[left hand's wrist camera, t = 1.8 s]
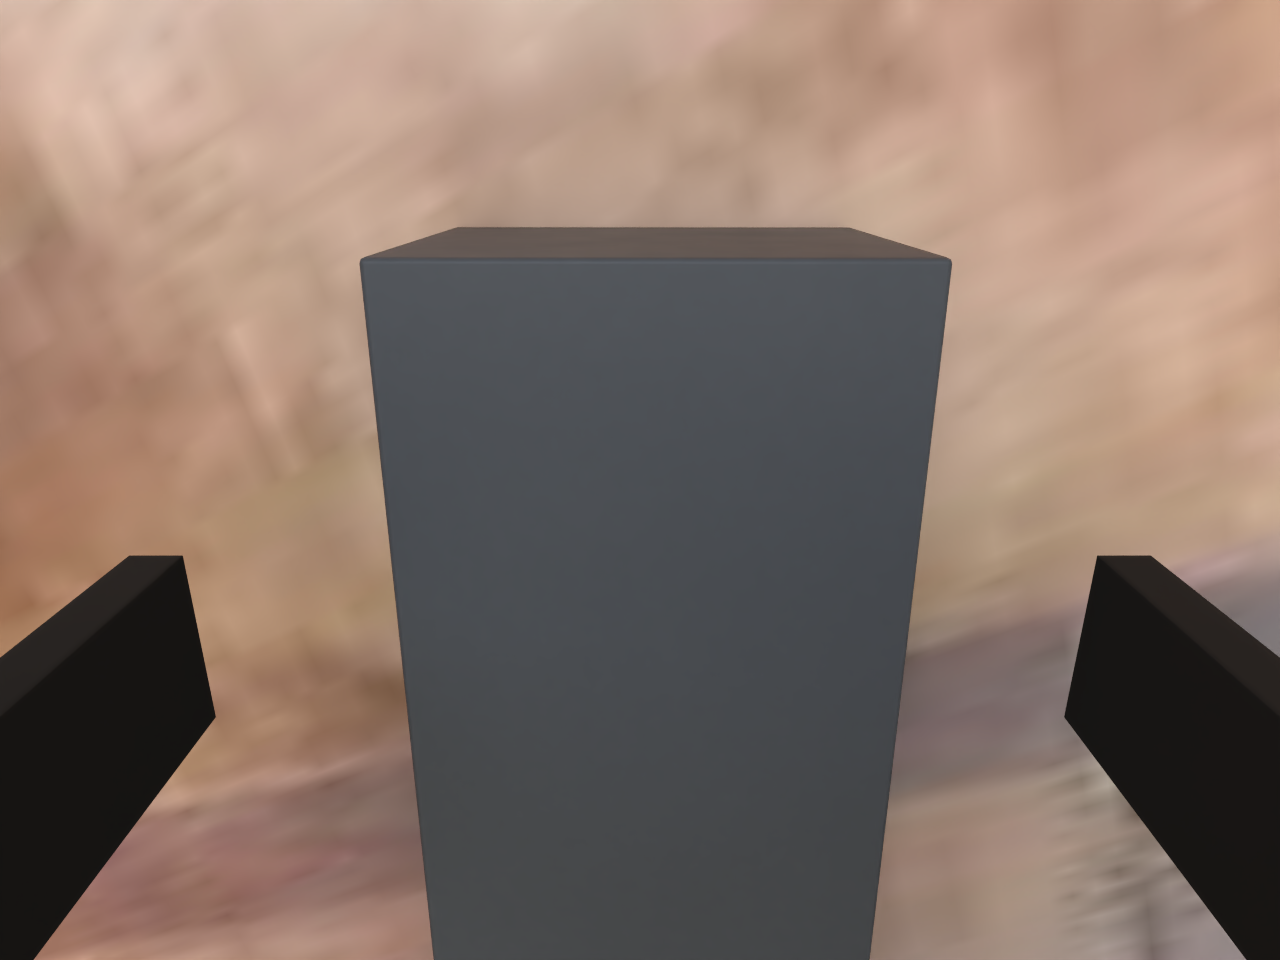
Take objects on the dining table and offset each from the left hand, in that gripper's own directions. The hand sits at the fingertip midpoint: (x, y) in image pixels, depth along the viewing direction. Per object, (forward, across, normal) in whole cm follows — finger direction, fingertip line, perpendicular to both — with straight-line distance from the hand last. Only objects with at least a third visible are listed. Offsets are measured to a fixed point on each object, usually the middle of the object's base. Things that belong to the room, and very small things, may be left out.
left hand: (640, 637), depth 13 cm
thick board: (+10, 0, -28) cm, 30 cm away
